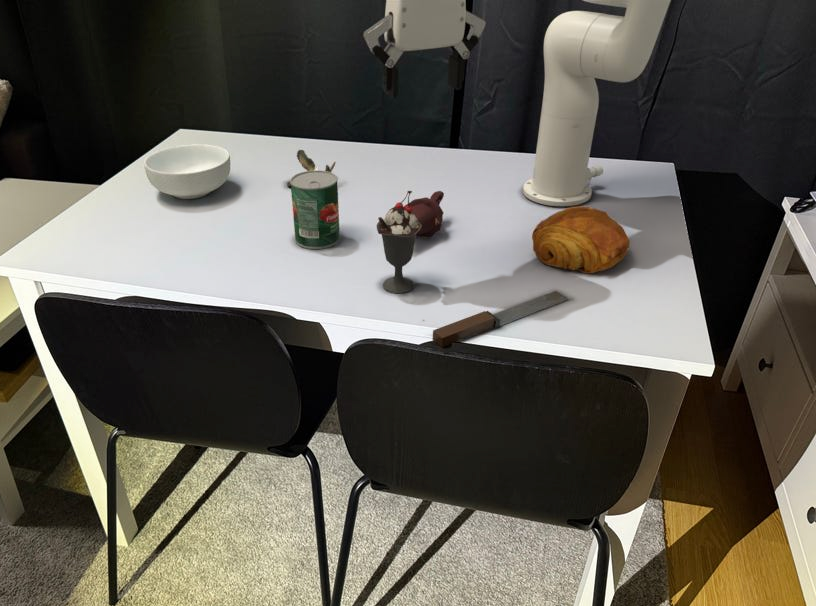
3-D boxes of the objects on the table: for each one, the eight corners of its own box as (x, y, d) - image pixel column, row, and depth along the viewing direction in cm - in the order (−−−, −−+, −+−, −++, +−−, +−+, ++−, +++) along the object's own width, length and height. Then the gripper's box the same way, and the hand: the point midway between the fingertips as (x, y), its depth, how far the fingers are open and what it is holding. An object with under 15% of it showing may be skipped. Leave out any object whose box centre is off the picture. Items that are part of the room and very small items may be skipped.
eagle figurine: (338, 173, 145) (299, 160, 147) (334, 152, 138) (293, 138, 140) (322, 204, 143) (283, 190, 145) (316, 184, 136) (276, 169, 138)
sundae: (424, 277, 112) (427, 187, 103) (413, 299, 107) (416, 206, 98) (384, 272, 114) (383, 183, 105) (371, 293, 109) (370, 201, 100)
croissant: (514, 264, 118) (514, 222, 113) (575, 224, 124) (577, 183, 119) (587, 296, 109) (590, 251, 103) (649, 251, 114) (655, 207, 109)
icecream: (433, 222, 113) (463, 195, 124) (392, 204, 115) (425, 178, 126) (420, 259, 117) (450, 229, 128) (380, 241, 119) (413, 213, 130)
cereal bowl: (248, 193, 141) (244, 159, 137) (171, 216, 134) (164, 180, 130) (211, 169, 153) (206, 136, 149) (137, 188, 146) (130, 155, 141)
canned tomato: (294, 230, 127) (289, 171, 120) (337, 227, 127) (335, 168, 121) (296, 251, 121) (291, 190, 114) (342, 247, 121) (339, 186, 114)
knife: (555, 291, 107) (556, 282, 106) (568, 300, 105) (570, 290, 104) (431, 338, 98) (431, 329, 97) (443, 348, 96) (443, 339, 95)
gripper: (476, -57, 94) (466, 78, 104) (353, -48, 90) (355, 92, 100) (505, -51, 88) (491, 91, 98) (375, -41, 84) (375, 106, 94)
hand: (422, 91), depth 99 cm, fingers open, 9 cm apart
